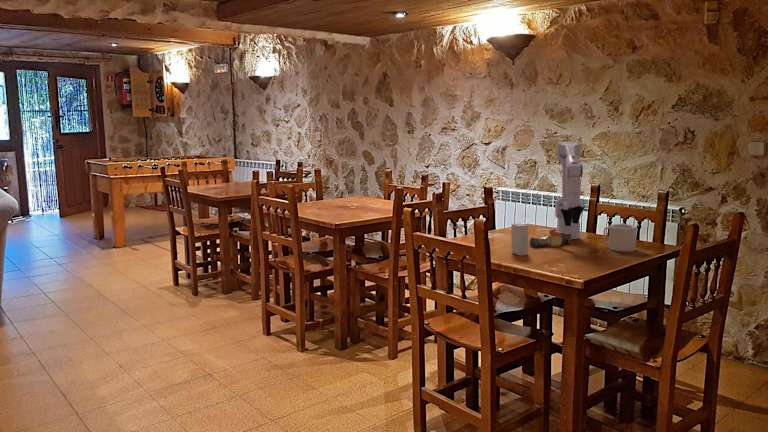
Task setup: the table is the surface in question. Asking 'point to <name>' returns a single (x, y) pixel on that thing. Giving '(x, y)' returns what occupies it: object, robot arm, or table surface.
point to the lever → (560, 233)
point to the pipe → (545, 241)
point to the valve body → (553, 240)
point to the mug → (621, 237)
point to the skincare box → (519, 239)
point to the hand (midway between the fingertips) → (571, 224)
